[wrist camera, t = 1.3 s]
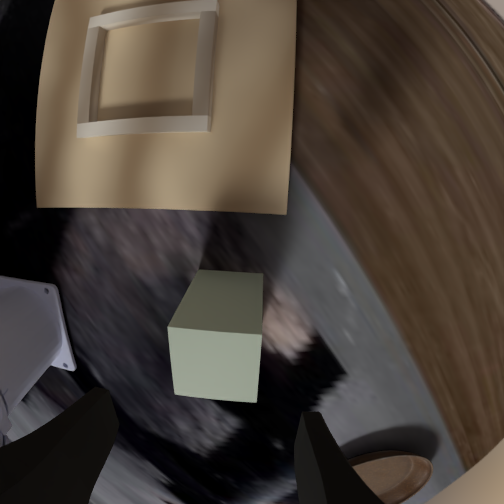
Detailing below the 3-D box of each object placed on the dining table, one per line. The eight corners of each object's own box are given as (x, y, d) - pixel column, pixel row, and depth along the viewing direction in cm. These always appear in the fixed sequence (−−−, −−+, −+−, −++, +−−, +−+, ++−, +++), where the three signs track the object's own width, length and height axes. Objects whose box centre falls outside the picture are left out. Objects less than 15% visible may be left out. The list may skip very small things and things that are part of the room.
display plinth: (49, 203, 19) (28, 210, 16) (68, -5, 14) (51, -17, 11) (284, 209, 18) (287, 218, 16) (295, -32, 13) (298, -52, 11)
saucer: (271, 482, 27) (271, 502, 25) (393, 417, 24) (401, 438, 21) (343, 512, 30) (345, 528, 27) (441, 460, 26) (448, 476, 24)
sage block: (199, 324, 21) (174, 394, 14) (198, 269, 20) (167, 326, 13) (259, 329, 21) (256, 402, 14) (263, 273, 20) (261, 334, 13)
